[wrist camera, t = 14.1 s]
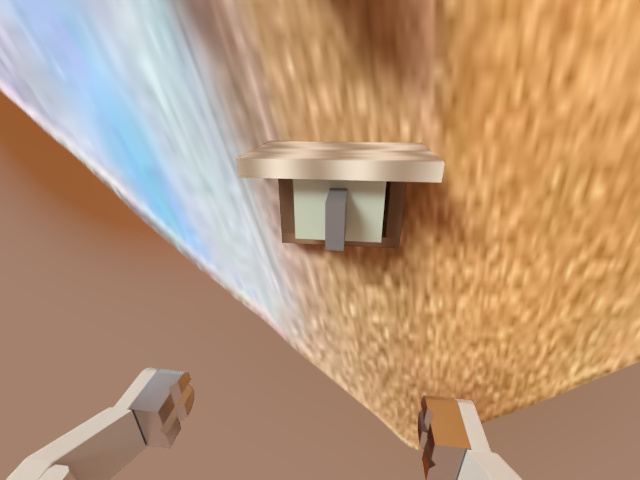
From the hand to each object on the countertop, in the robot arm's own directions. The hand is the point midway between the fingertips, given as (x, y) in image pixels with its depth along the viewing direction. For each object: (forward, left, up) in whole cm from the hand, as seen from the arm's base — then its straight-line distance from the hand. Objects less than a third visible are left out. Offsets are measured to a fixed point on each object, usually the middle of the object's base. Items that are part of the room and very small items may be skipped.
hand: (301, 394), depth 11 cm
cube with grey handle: (0, 0, -27) cm, 27 cm away
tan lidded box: (0, +1, -27) cm, 27 cm away
